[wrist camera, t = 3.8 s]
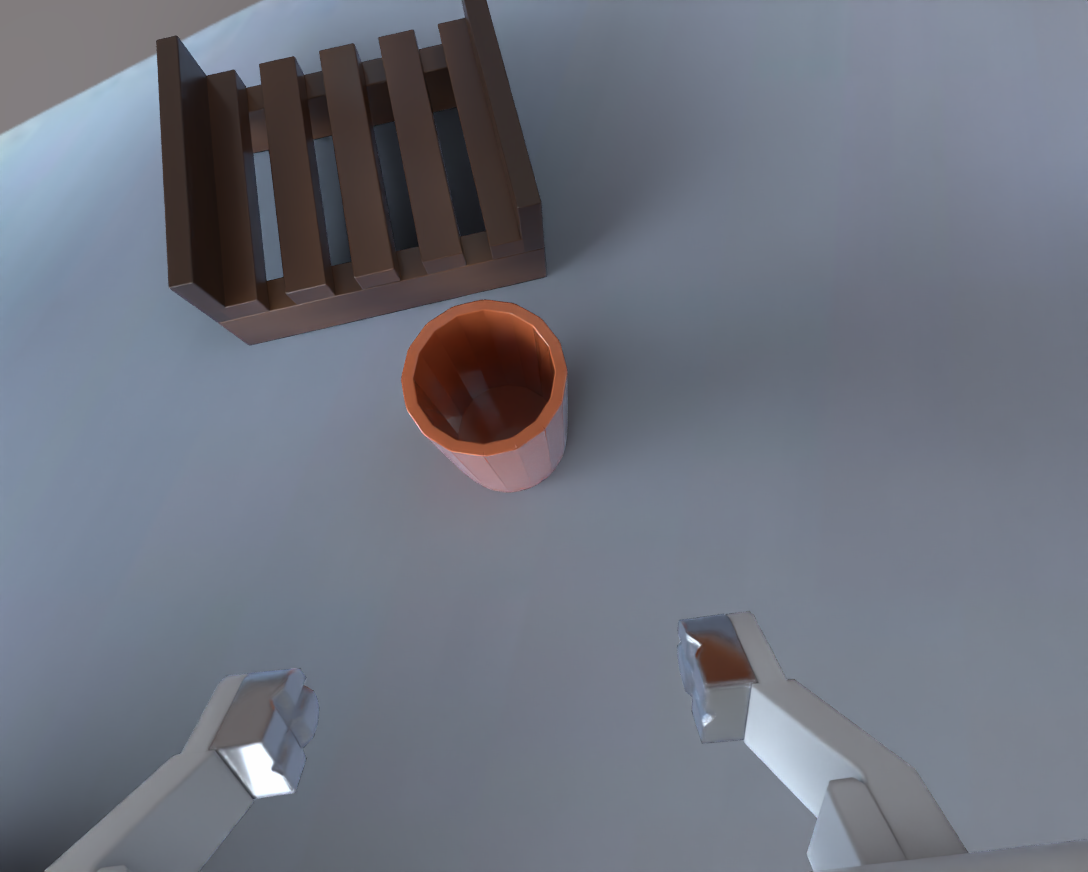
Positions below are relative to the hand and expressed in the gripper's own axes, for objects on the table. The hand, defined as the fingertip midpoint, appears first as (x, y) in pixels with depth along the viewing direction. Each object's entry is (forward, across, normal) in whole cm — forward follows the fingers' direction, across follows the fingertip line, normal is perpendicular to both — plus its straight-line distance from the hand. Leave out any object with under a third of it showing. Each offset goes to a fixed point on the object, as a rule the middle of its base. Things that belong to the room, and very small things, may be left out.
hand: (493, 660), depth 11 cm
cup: (+13, 0, +2) cm, 13 cm away
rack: (+23, +6, -7) cm, 25 cm away
